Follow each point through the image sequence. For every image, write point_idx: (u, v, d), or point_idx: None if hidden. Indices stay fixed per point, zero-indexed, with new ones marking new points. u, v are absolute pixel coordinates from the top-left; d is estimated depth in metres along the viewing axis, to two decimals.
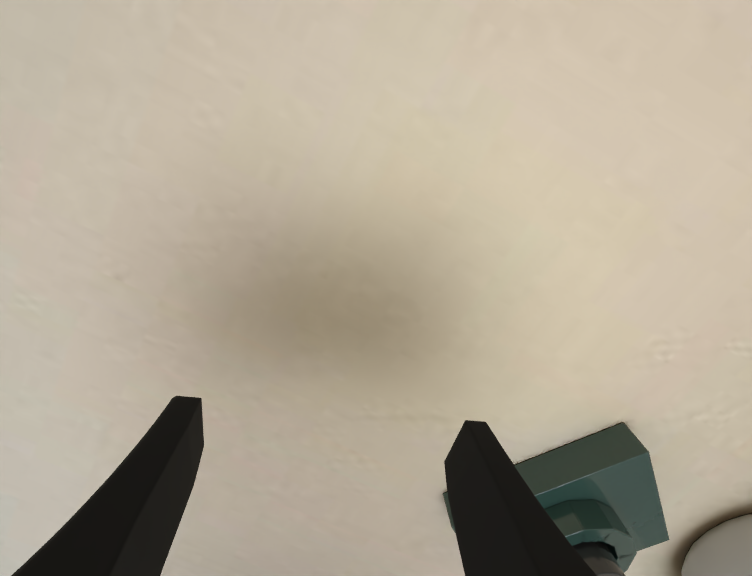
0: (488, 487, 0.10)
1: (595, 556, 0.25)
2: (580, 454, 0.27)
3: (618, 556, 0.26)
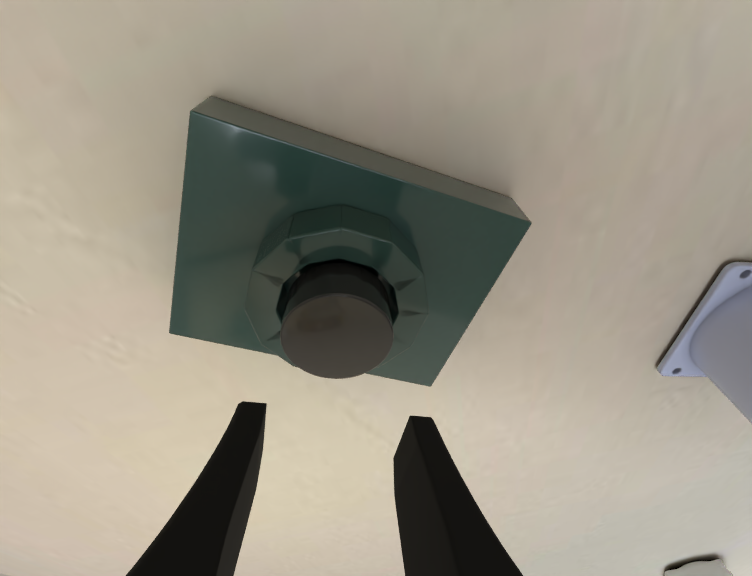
0: (424, 483, 0.10)
1: None
2: None
3: (282, 284, 0.15)
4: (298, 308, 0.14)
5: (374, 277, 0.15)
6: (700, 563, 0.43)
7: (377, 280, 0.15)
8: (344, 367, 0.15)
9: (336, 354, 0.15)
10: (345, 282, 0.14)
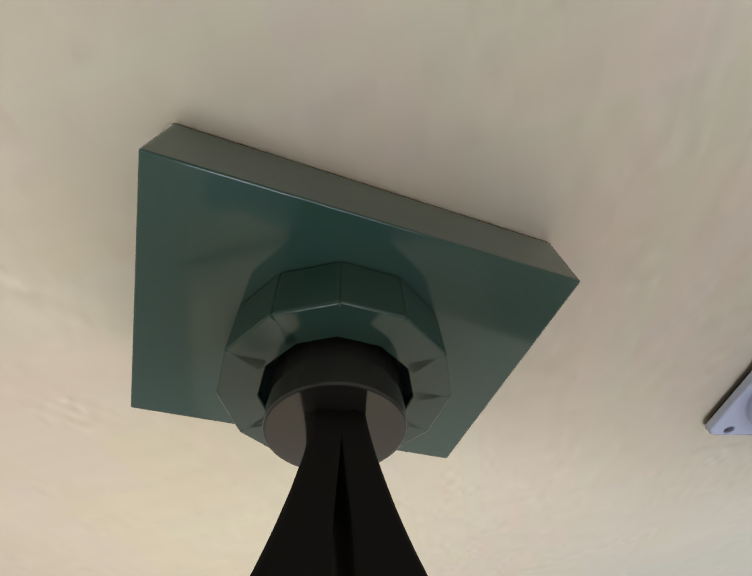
0: (343, 479, 0.09)
1: None
2: None
3: (264, 367, 0.12)
4: (284, 400, 0.11)
5: (382, 348, 0.12)
6: None
7: (386, 352, 0.12)
8: None
9: None
10: (345, 363, 0.11)
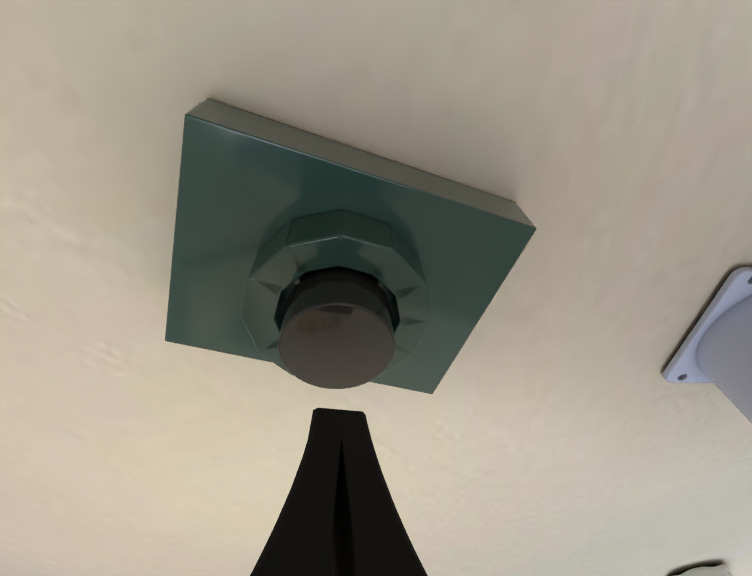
0: (343, 479, 0.09)
1: None
2: None
3: (280, 292, 0.15)
4: (296, 318, 0.13)
5: (375, 284, 0.15)
6: (703, 568, 0.42)
7: (378, 288, 0.15)
8: (344, 377, 0.15)
9: (336, 364, 0.14)
10: (344, 291, 0.14)
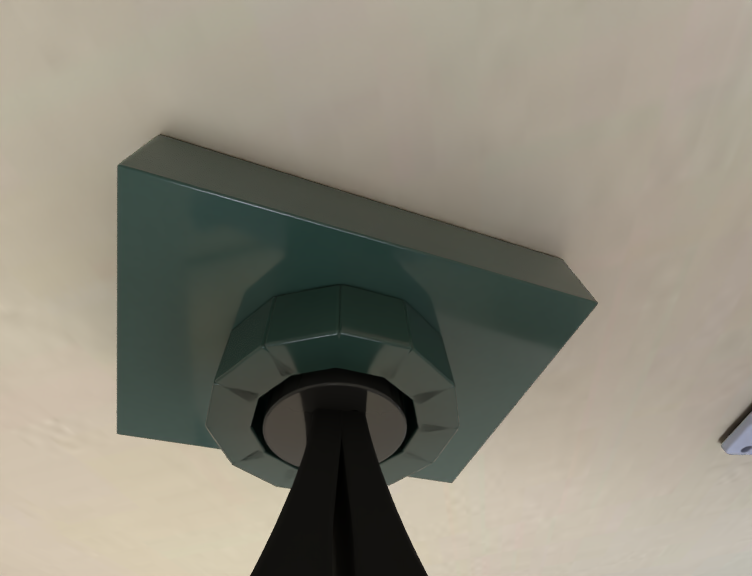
0: (343, 479, 0.09)
1: None
2: None
3: (257, 399, 0.11)
4: (284, 400, 0.11)
5: None
6: None
7: None
8: None
9: None
10: None
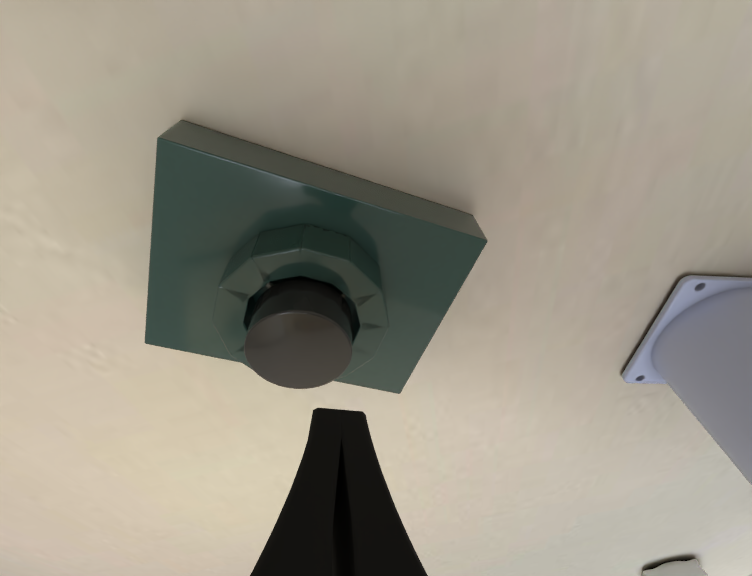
0: (343, 479, 0.09)
1: None
2: None
3: (247, 299, 0.16)
4: (259, 324, 0.14)
5: (335, 293, 0.16)
6: (676, 563, 0.44)
7: (338, 296, 0.16)
8: (307, 378, 0.16)
9: (298, 366, 0.16)
10: (304, 299, 0.15)
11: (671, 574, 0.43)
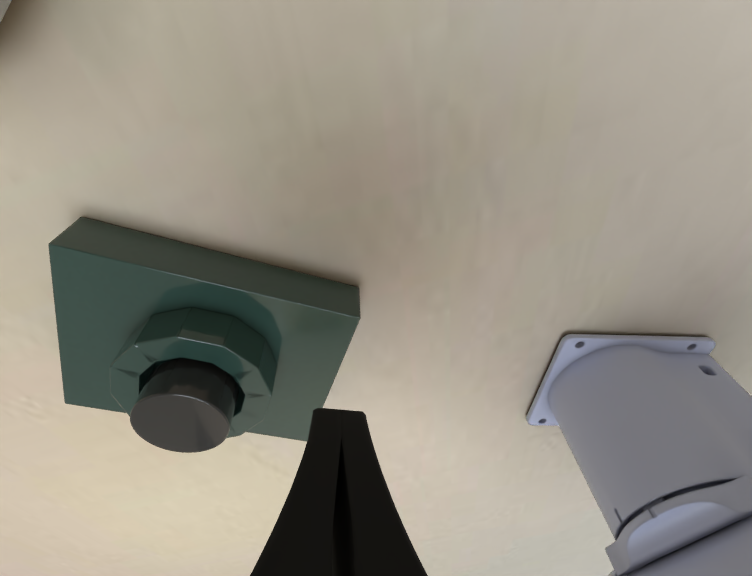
0: (343, 479, 0.09)
1: None
2: None
3: (138, 376, 0.18)
4: (139, 404, 0.17)
5: (217, 369, 0.18)
6: None
7: (220, 372, 0.18)
8: (193, 444, 0.18)
9: (182, 435, 0.18)
10: (181, 380, 0.17)
11: None
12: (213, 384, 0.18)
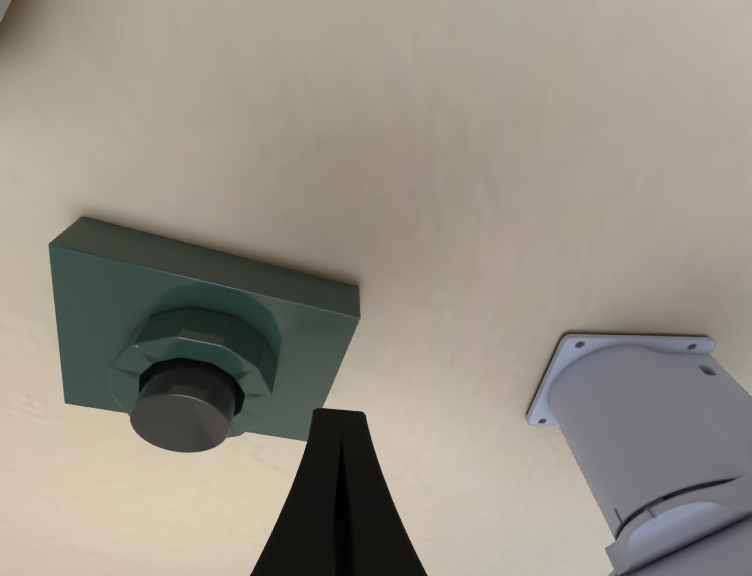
0: (343, 479, 0.09)
1: None
2: None
3: (138, 376, 0.18)
4: (139, 404, 0.17)
5: (217, 369, 0.18)
6: None
7: (220, 372, 0.18)
8: (193, 444, 0.18)
9: (182, 435, 0.18)
10: (181, 380, 0.17)
11: None
12: (213, 384, 0.18)
